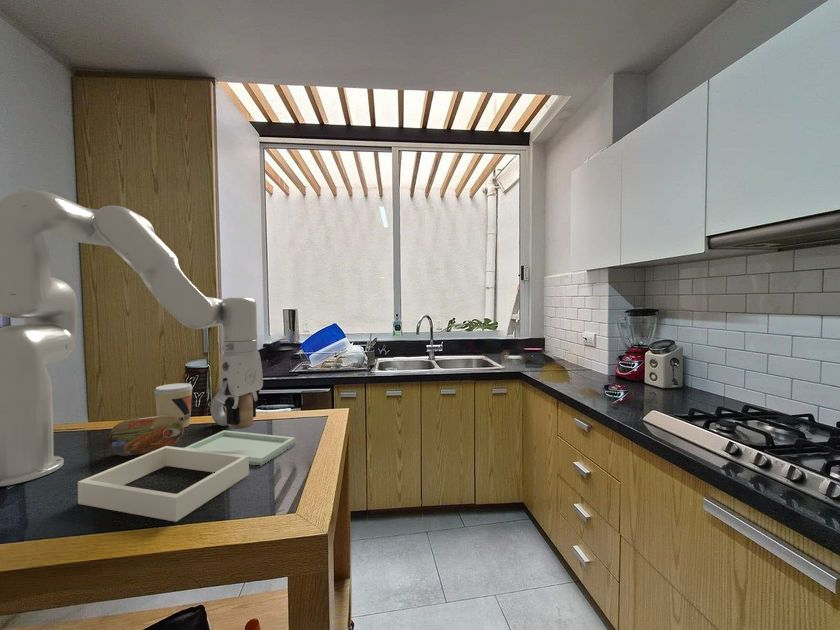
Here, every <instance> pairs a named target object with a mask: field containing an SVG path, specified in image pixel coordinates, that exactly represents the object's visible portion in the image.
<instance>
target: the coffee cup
mask: <svg viewBox="0 0 840 630" xmlns="http://www.w3.org/2000/svg"><path fill="white" fill-rule="evenodd" d="M193 389H194V388H193V385H192V383H188V382H183V383H182V382H178V383H169V384H163V385H159V386H156V387H155V389H154V397H155V398H154V400H155V408H156V416H164V415H171V416H174V417H176V418H178V419H179V420H180V421H181V422H182V424H183V427H184V428H186V427H188V426H190V423H191V415H192V414H191V412H192V400H193V399H192V397H193Z"/></svg>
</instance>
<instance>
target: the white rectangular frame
mask: <svg viewBox="0 0 840 630" xmlns="http://www.w3.org/2000/svg"><path fill="white" fill-rule="evenodd" d="M164 467H173V468H179V469H185V470H186V469H187V470H194V471H203V472H207V473H208V472H210V473H211V474H209V475H208V476H206V477H204V478H203V479H201V480H199V481H197V482H194V484H192V485H190V486H189V487H187V488H185V489H183V490H181V491H179V492H177V493H173V492H166V491H159V490H153V489H148V488H147V489H146V488H141V487H135V486H128V485H127V484H129V483H131V482H134V481H136V480H139V479H141V478H143V477H144V476H146V475H149V474H151V473H153V472H155V471H157V470H160V469H162V468H164ZM214 472H215V473H214ZM249 474H250V465H249V456H245V455H237V454H228V453H220V452H212V451H204V450H195V449H187V448H185V447H178V446H174V447H171V446H165V447H162V448H160V449H157V450H155V451H152V452H150V453H144V454H143V455H140V456H138V457H135V458H134V459H133V458H132V459H131V460H128V461H125V462H124V463H121V464H118V465H116V466H114V467H110V468H108V469H106V470H104V471H101V472H99V473H96V474H94V475H91V476H89V477H87V478H83V479H81V480H79V481H77V504H78V505H83V506H89V507H94V508H99V509H105V510H111V511H117V512H121V513H127V514H131V515H137V516H142V517H143V516H144V517H148V518H149V517H150V518H154V519H158V520H165V521H169V522H170V521H171V522H175V523H176V522H178V521H180V520H181V519H183V518H184V517H186V516H187V515H189V514H191V513H193V512H194V511H195V510H197V509H198V508H200V507H201V506H203V505H204V504H206V503H208V502H209V501H210V500H213V498H215V497H217V496H218V495H220V494H221V493H223V492H224V491H226V490H228V489H229V488H231V487H232V486H234V485H236V484H237V483H238V482H240V481H241V480H243V479H245V478H247V476H249Z"/></svg>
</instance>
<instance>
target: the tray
mask: <svg viewBox="0 0 840 630" xmlns="http://www.w3.org/2000/svg"><path fill="white" fill-rule="evenodd" d="M295 445H296V437H293V436H285V435H284V436H282V435H275V434H274V435H273V434H264V433H256V432H255V433H254V432H244V431H236V430H235V431H233V430H228V429H227V430H222V431H219V432H217V433H214V434H213V435H210V436H208V437H205V438H203V439H201V440H199V441H196V442H194V443H191V444H190V445H187V446H185V447H184V448H187V449H195V450H204V451H212V452H220V453H228V454H237V455H245V456H249V464H250V465H249V466H255V465H260V466H259V467H263V466H264V465H263V464H265V463H266V464H267V462H268V461H269V462H271V461H272V460H273V458H274V459H275V458H276V457H278V456H280V455H281V454H283V453H284V451H285V452H286V451H287V449H288V450H289V449H290V448H292V447H294V446H295ZM271 459H272V460H271ZM270 460H271V461H270ZM269 462H268V463H269ZM266 464H265V465H266ZM262 465H263V466H262Z"/></svg>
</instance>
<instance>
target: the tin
mask: <svg viewBox="0 0 840 630" xmlns="http://www.w3.org/2000/svg"><path fill="white" fill-rule="evenodd" d="M184 428H185V427H183V424H182V422H181V421H180V420H179V419H178V418H176V417H174V416H171V415H164V416H157V415H156V416H148V417H139V418H131V419H126V420H124V421H121V422H119V423H117V424H116V425H114V426H113V427H112V428H111V429H110V430H109V432H108V434H107V438H106V443H107V447H108V449H109V450H110V451H111V452H112V453H114V454H115V455H118V456H123V457H127V456H128V455H129V456H135V455H142V454H143V455H144V454H147V453H150V452H152V451H155V450H157V449H160V448H162V447H165V446H171V447H176V445H177V444H178V443H179V442H180V441H181V439H182V437H183V435H184V431H185V429H184Z"/></svg>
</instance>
